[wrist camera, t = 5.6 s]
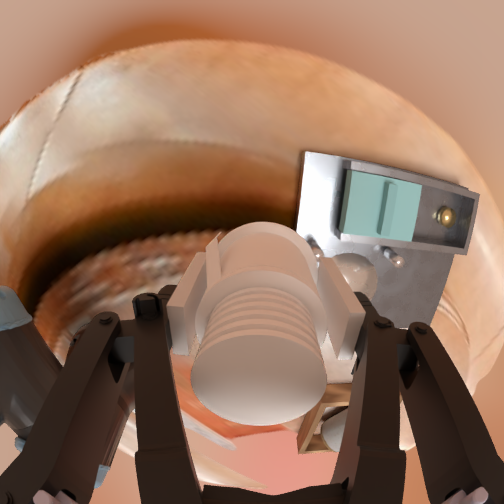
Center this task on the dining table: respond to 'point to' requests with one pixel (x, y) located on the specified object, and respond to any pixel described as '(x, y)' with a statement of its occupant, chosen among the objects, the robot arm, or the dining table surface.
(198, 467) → the dining table surface
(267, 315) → the downlight
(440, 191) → the housing board
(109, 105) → the dining table surface
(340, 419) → the ceramic mug
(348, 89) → the dining table surface
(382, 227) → the cover
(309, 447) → the wooden caddy
